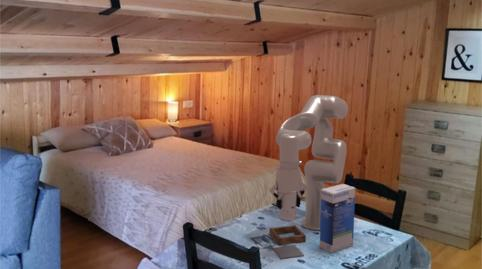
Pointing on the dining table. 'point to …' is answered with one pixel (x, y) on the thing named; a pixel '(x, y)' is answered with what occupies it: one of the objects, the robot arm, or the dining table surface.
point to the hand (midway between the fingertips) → (288, 206)
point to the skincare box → (288, 206)
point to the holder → (279, 240)
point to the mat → (288, 252)
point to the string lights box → (337, 217)
